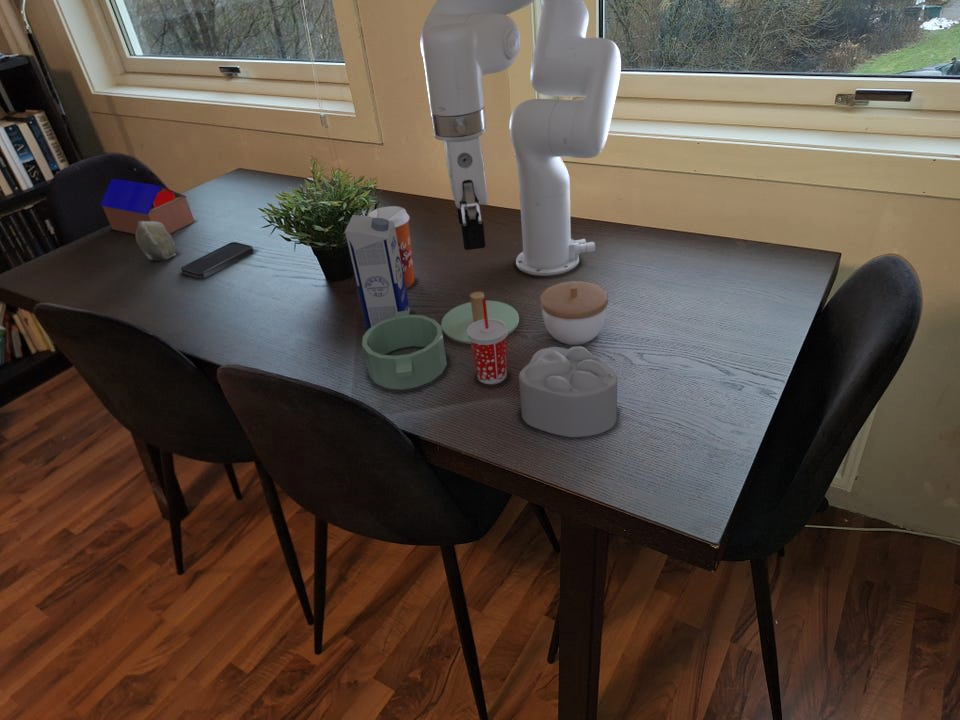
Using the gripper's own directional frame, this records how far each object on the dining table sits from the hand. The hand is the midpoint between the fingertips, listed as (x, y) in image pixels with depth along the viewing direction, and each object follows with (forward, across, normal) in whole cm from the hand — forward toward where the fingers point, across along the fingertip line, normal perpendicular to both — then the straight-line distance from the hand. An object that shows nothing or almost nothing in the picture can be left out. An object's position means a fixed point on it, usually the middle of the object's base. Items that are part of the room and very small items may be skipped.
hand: (471, 234), depth 102 cm
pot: (+18, -7, +13) cm, 24 cm away
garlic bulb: (+19, +54, +71) cm, 91 cm away
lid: (+18, +3, 0) cm, 18 cm away
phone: (+19, +46, +56) cm, 74 cm away
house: (+19, +75, +80) cm, 111 cm away
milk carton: (+19, +8, +16) cm, 26 cm away
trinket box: (+19, -4, -15) cm, 24 cm away
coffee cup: (+19, +23, +14) cm, 33 cm away
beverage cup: (+19, -13, 0) cm, 23 cm away
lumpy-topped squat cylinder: (+19, -24, -10) cm, 32 cm away
